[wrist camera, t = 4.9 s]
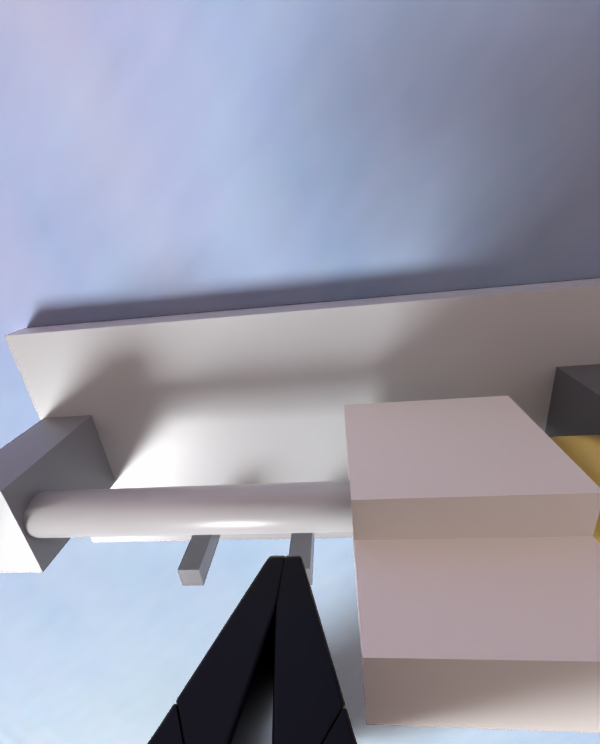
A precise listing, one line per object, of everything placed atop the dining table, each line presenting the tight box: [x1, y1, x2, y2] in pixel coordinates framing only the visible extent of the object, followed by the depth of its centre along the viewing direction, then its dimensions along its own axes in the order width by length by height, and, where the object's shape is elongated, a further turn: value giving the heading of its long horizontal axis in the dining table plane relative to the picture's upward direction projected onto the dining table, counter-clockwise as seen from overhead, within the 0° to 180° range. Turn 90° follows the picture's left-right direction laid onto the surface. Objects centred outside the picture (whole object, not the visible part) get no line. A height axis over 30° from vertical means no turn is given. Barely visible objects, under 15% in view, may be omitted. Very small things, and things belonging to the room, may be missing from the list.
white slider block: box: [344, 396, 600, 733], centre depth 9 cm, size 5×4×7 cm
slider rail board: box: [0, 278, 600, 585], centre depth 12 cm, size 22×10×7 cm, turn 96°
